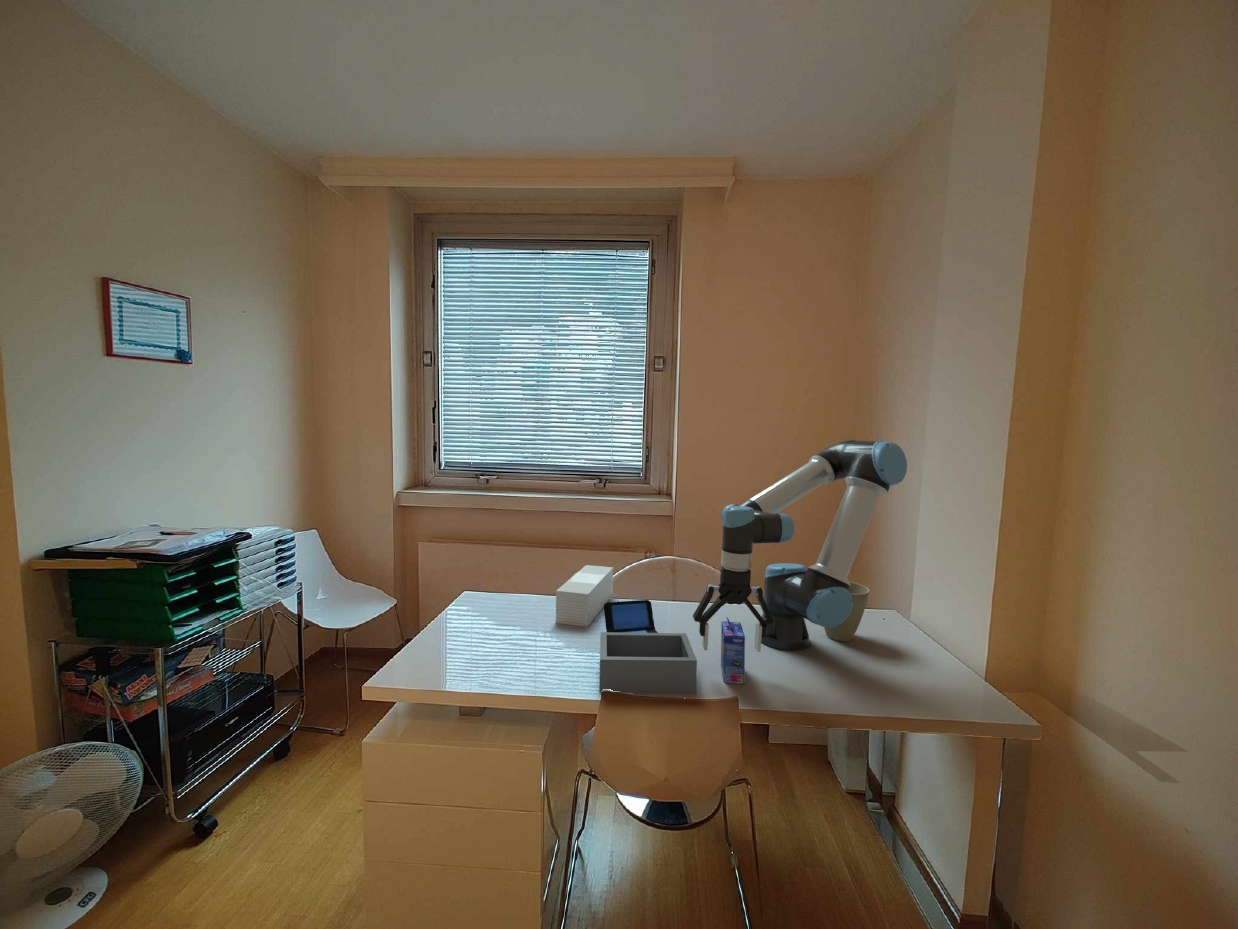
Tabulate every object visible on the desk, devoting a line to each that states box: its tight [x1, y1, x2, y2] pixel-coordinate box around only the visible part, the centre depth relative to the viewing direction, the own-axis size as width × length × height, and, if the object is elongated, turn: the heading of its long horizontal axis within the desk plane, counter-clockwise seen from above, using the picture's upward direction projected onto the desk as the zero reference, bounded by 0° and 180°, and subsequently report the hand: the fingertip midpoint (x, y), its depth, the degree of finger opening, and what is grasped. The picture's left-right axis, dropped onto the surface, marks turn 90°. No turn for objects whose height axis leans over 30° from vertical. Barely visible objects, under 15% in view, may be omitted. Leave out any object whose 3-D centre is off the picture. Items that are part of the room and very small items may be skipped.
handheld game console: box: [603, 599, 659, 633], centre depth 153 cm, size 16×13×9 cm
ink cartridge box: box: [720, 617, 746, 685], centre depth 131 cm, size 10×6×14 cm, turn 173°
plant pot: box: [823, 581, 870, 642], centre depth 157 cm, size 15×15×16 cm
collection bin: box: [598, 631, 698, 694], centre depth 129 cm, size 23×16×8 cm
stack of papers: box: [555, 564, 614, 628], centre depth 177 cm, size 32×11×11 cm, turn 166°
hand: (731, 648), depth 131 cm, fingers open, 13 cm apart
